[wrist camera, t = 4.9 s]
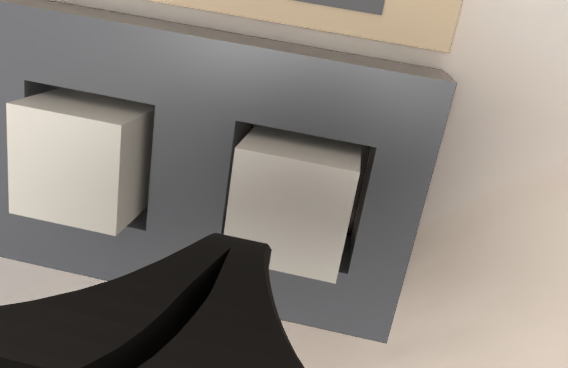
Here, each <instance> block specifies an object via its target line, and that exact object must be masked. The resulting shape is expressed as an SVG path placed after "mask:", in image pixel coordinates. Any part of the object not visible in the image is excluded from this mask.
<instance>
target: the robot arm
mask: <svg viewBox="0 0 568 368" xmlns="http://www.w3.org/2000/svg"><path fill="white" fill-rule="evenodd" d="M271 251H272V249H271V248H270V246H269V245H268V244H266V243H262V242H257V241H252V240H247V239H243V238H238V237H233V236H228V235H223V234H219V233H213V234H210V235H208V236H206V237H204V238H202V239H200V240H198V241H197V242H195V243H193V244H191V245H189V246H187V247H185V248H183V249H181V250H179V251H177V252H175V253H173V254H171V255H169V256H167V257H165V258H163V259H161V260H159V261H157V262H154V263H152V264H150V265H147V266H145V267H143V268H140V269H138V270H136V271H134V272H131V273H129V274H126V275H124V276H121V277H118V278H116V279H113V280H110V281H107V282H104V283H101V284H98V285H94V286H91V287H88V288H85V289H81V290H77V291H73V292H69V293H64V294H60V295H56V296H51V297H47V298H42V299H38V300H33V301H28V302H22V303H16V304H10V305H3V306H0V368H304V366H303V365H302V363H301V362H300V360H299V358H298V357H297V355H296V353H295V351H294V349H293V348H292V346H291V344H290V342H289V340H288V337H287V335H286V333H285V331H284V328H283V326H282V323H281V321H280V318H279V315H278V312H277V308H276V305H275V302H274V298H273V294H272V289H271V283H270V277H269V264H270V257H271Z"/></svg>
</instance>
